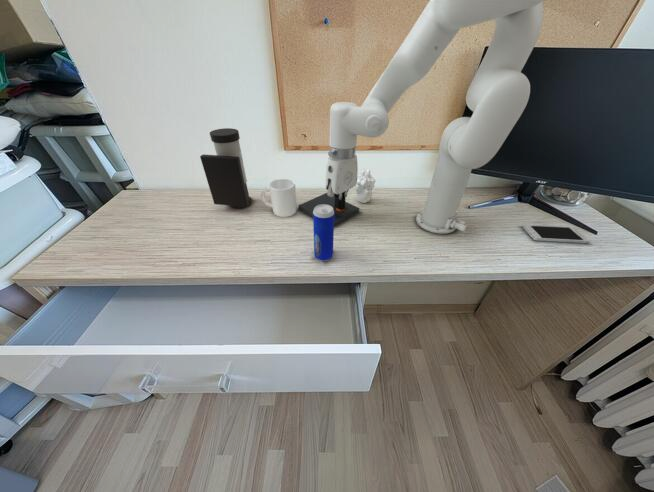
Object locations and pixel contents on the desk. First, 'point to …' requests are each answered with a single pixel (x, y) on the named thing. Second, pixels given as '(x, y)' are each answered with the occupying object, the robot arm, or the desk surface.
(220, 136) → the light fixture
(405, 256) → the desk surface
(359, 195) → the figurine
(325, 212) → the beverage can
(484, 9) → the robot arm
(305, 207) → the scale
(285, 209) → the mug
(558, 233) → the smartphone
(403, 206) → the desk surface
